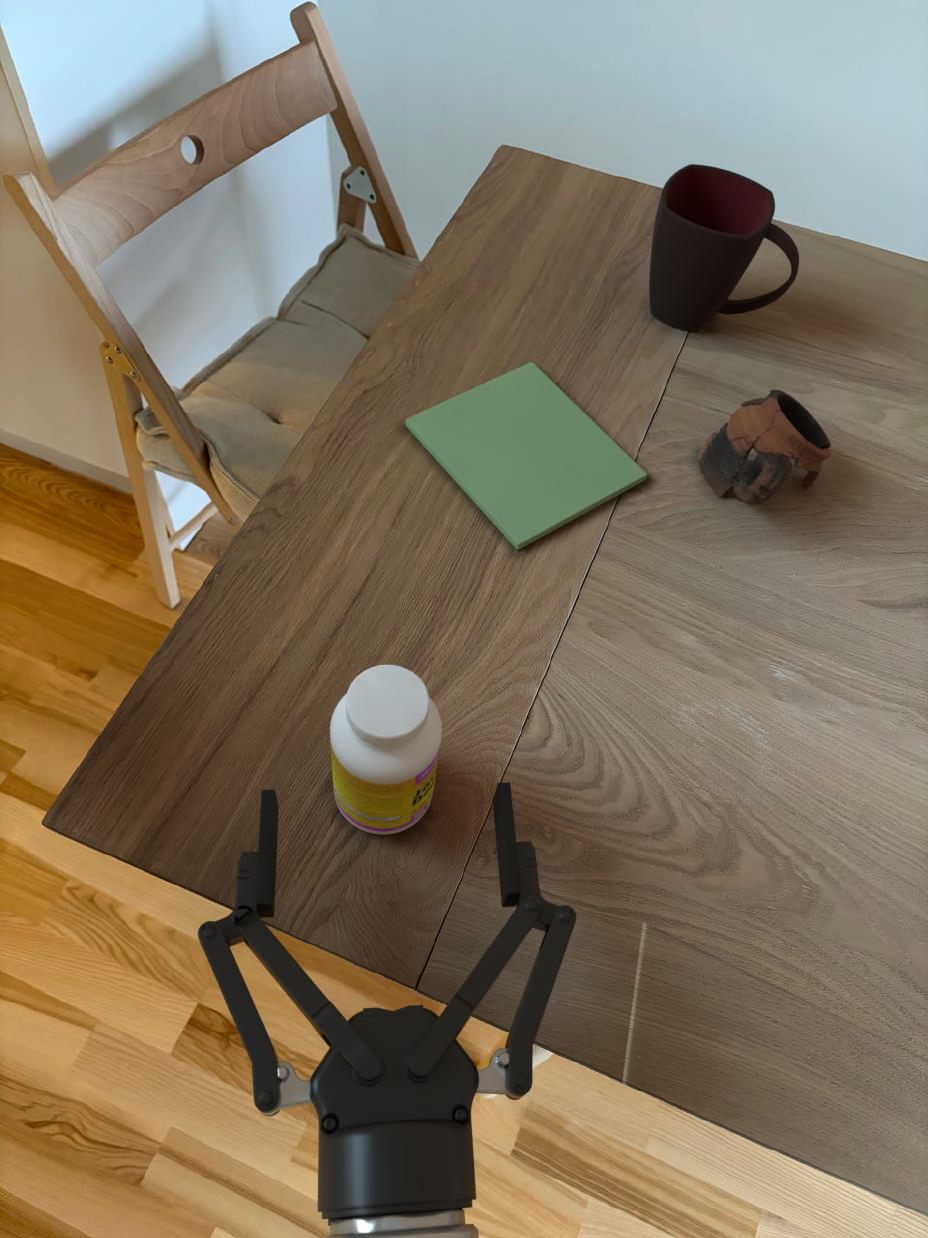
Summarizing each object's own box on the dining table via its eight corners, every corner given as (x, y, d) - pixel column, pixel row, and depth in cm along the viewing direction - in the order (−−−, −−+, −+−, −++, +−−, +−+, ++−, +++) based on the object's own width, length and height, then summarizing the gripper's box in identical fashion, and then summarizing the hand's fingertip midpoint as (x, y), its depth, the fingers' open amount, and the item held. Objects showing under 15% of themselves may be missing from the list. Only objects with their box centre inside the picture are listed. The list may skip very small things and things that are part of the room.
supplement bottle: (418, 849, 61) (429, 769, 50) (320, 823, 62) (311, 738, 51) (443, 758, 65) (458, 665, 54) (351, 734, 65) (347, 637, 54)
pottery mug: (690, 428, 85) (759, 362, 80) (765, 487, 87) (837, 427, 82) (690, 502, 76) (768, 434, 71) (774, 566, 78) (855, 504, 73)
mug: (650, 265, 96) (683, 153, 86) (779, 312, 94) (829, 203, 84) (617, 321, 91) (648, 209, 81) (753, 372, 89) (802, 264, 79)
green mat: (404, 425, 81) (405, 418, 81) (530, 367, 87) (532, 360, 86) (517, 550, 75) (518, 544, 74) (645, 480, 80) (648, 474, 80)
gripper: (140, 1241, 46) (181, 824, 57) (637, 1201, 49) (582, 811, 60) (104, 1243, 40) (158, 775, 51) (677, 1198, 42) (607, 763, 54)
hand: (387, 794), depth 56 cm, fingers open, 13 cm apart
